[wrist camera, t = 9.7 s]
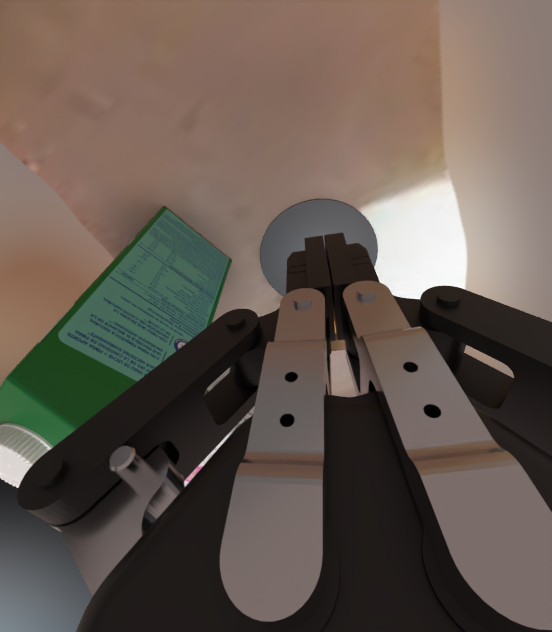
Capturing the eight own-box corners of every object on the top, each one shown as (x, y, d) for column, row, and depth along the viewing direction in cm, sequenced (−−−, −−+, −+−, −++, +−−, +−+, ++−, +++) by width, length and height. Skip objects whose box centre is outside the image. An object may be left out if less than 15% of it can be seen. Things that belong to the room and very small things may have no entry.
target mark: (271, 309, 40) (271, 309, 40) (248, 209, 32) (248, 210, 32) (375, 297, 38) (376, 298, 38) (379, 189, 30) (379, 189, 30)
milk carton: (164, 205, 32) (-37, 423, 13) (232, 260, 36) (158, 494, 16) (124, 260, 36) (-71, 485, 17) (188, 304, 40) (89, 530, 21)
